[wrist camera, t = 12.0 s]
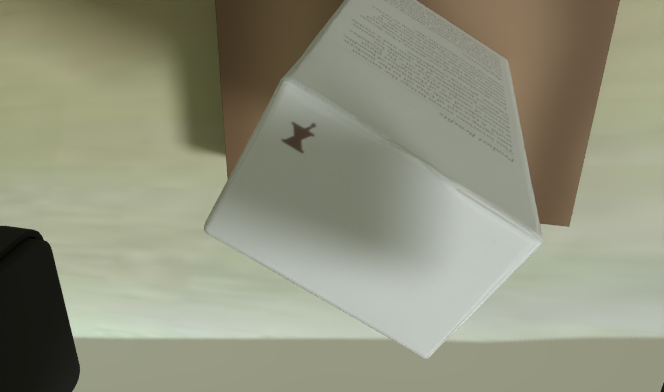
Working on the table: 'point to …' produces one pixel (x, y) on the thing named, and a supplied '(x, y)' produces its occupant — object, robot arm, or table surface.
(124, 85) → the table surface
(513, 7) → the block
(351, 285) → the skincare box
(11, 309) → the robot arm
